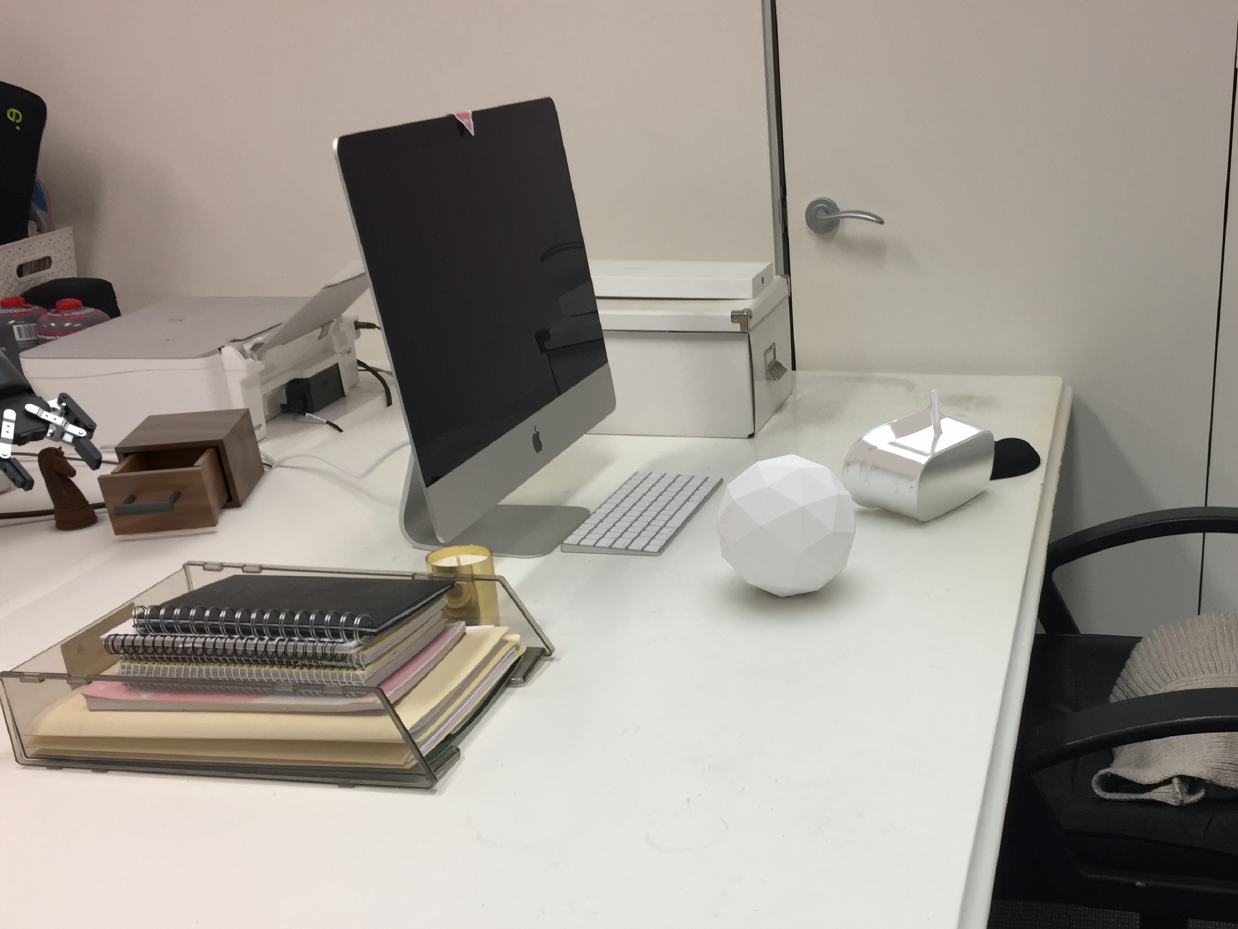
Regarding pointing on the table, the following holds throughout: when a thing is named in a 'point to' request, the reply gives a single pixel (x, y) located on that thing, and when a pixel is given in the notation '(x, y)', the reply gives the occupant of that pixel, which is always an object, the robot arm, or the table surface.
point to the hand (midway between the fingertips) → (65, 476)
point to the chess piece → (64, 491)
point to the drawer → (165, 490)
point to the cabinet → (205, 443)
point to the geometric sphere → (786, 525)
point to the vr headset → (920, 464)
